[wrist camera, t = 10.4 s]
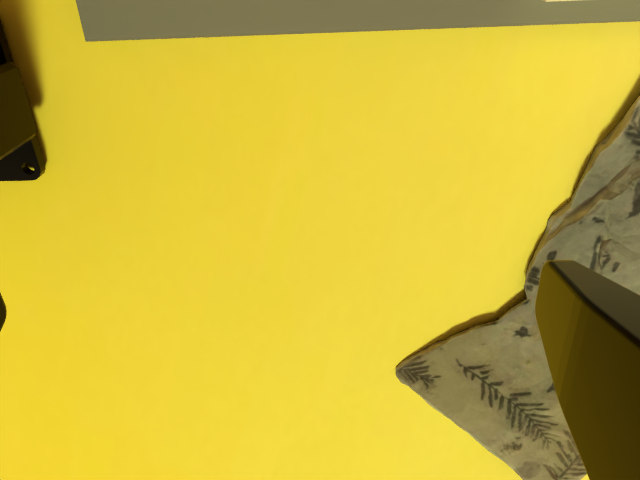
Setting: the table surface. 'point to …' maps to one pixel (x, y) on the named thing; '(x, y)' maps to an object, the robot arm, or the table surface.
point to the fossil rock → (522, 329)
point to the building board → (330, 16)
